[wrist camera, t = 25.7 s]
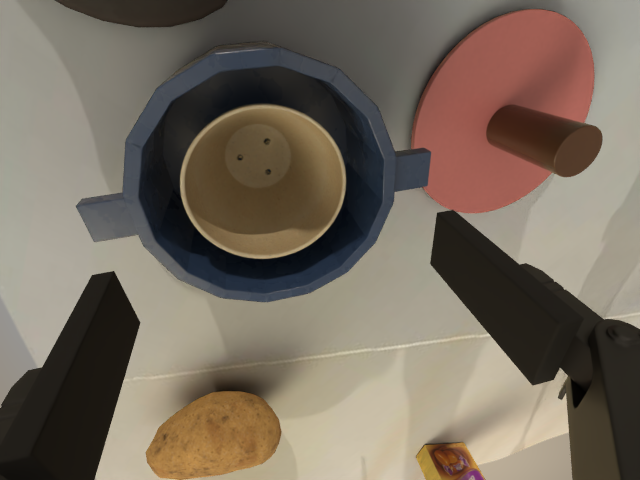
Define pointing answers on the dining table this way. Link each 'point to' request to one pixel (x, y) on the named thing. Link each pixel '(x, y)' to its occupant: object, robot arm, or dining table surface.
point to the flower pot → (263, 181)
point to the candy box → (448, 462)
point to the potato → (215, 437)
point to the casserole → (146, 11)
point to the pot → (282, 89)
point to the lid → (508, 111)
